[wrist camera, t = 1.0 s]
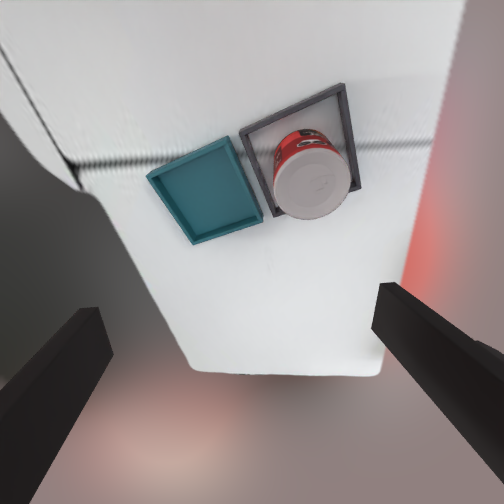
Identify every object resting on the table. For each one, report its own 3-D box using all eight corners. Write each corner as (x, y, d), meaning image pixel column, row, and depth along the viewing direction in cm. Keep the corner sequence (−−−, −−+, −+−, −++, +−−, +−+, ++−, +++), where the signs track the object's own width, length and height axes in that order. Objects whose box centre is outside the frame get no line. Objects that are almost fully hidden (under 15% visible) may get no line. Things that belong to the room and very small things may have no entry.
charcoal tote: (240, 129, 32) (238, 132, 30) (340, 82, 28) (344, 83, 26) (273, 212, 39) (273, 217, 37) (357, 183, 35) (361, 188, 33)
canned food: (341, 159, 33) (365, 190, 24) (295, 194, 37) (302, 232, 28) (309, 112, 30) (324, 129, 21) (262, 156, 34) (258, 186, 25)
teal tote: (151, 170, 36) (145, 176, 34) (228, 135, 32) (225, 138, 30) (196, 238, 43) (192, 245, 41) (263, 215, 39) (262, 222, 38)
